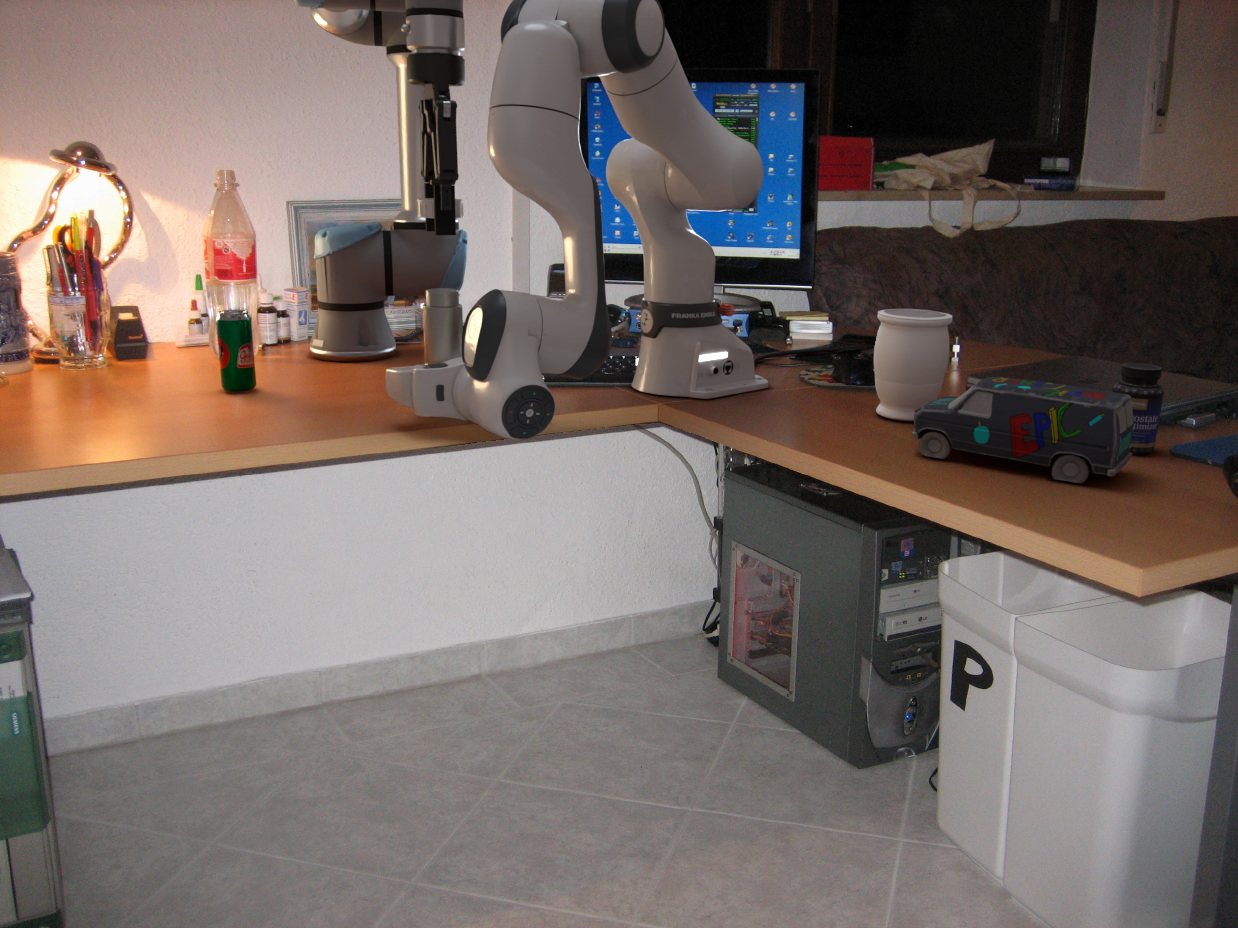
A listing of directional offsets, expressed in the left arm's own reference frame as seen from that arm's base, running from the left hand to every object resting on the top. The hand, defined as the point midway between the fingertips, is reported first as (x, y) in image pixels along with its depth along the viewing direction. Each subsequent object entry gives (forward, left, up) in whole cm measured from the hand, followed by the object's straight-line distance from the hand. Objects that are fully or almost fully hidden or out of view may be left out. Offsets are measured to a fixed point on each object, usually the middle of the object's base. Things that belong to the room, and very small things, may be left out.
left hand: (440, 232), depth 147 cm
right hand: (0, -1, -19) cm, 19 cm away
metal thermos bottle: (0, 0, -25) cm, 25 cm away
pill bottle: (-9, +93, -25) cm, 97 cm away
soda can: (-3, -35, -25) cm, 43 cm away
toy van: (+2, +78, -25) cm, 82 cm away
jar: (-19, +64, -25) cm, 72 cm away
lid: (0, 0, +4) cm, 4 cm away
